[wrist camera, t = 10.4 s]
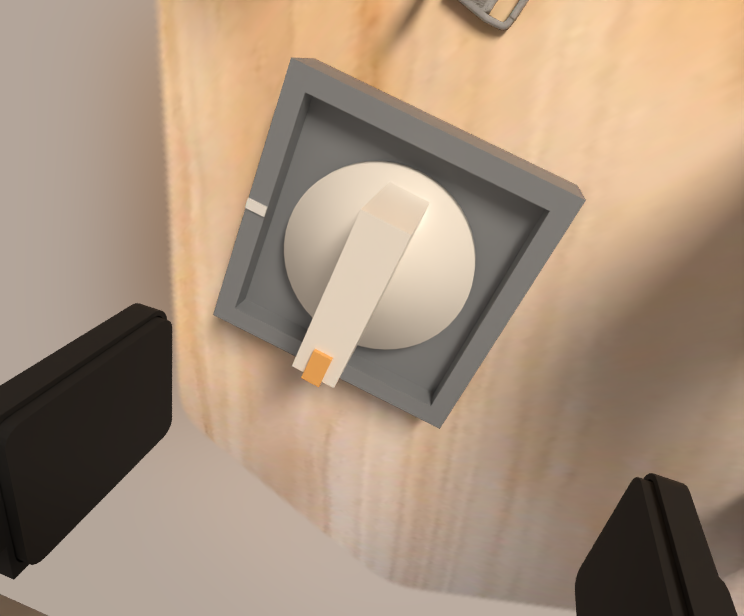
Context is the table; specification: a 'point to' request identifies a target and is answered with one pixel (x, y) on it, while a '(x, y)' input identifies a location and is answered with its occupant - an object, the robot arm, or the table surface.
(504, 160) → the dial plate
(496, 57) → the table surface
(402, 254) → the dial
